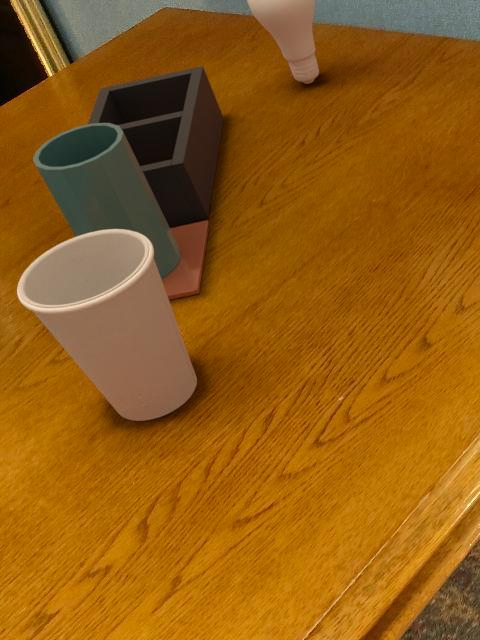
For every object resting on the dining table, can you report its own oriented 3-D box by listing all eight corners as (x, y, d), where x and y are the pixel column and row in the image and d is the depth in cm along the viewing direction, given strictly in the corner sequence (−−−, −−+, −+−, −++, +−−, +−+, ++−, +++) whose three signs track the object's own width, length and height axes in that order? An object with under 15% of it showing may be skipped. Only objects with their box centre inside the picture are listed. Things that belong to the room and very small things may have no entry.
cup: (95, 298, 76) (25, 177, 69) (107, 252, 80) (42, 134, 73) (177, 280, 76) (115, 157, 68) (185, 235, 80) (128, 115, 73)
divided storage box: (95, 243, 82) (64, 188, 79) (125, 140, 95) (100, 88, 91) (208, 218, 82) (183, 162, 79) (224, 118, 94) (202, 65, 91)
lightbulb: (285, 72, 99) (244, -48, 91) (344, 64, 98) (308, -59, 90) (273, 101, 95) (228, -22, 87) (334, 92, 94) (295, -33, 86)
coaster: (69, 321, 75) (67, 317, 75) (91, 249, 82) (88, 245, 82) (199, 293, 75) (197, 289, 75) (209, 224, 82) (208, 219, 81)
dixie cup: (109, 363, 71) (35, 240, 63) (224, 344, 70) (162, 217, 63) (83, 444, 65) (-2, 319, 58) (206, 423, 65) (137, 294, 57)
